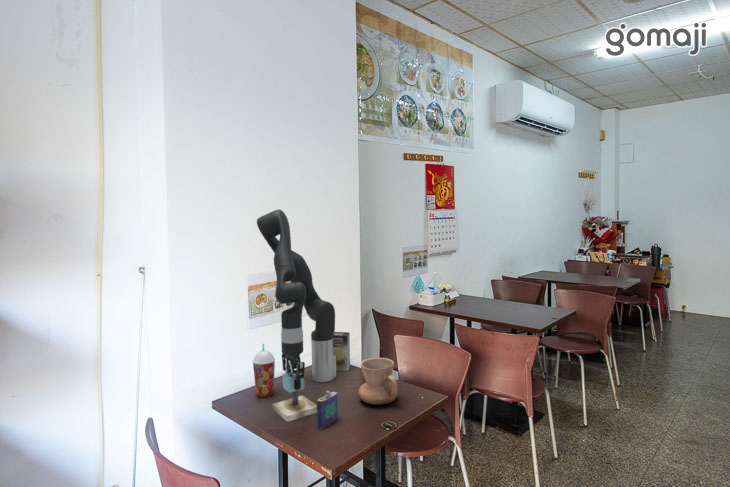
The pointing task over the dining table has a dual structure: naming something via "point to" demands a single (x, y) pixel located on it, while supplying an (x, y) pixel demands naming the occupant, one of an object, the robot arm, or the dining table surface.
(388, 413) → the dining table surface
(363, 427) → the dining table surface
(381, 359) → the ceramic jug
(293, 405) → the shaft stand
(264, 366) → the smoothie
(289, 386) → the teal hollow block
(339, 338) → the coffee box
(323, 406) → the flask
